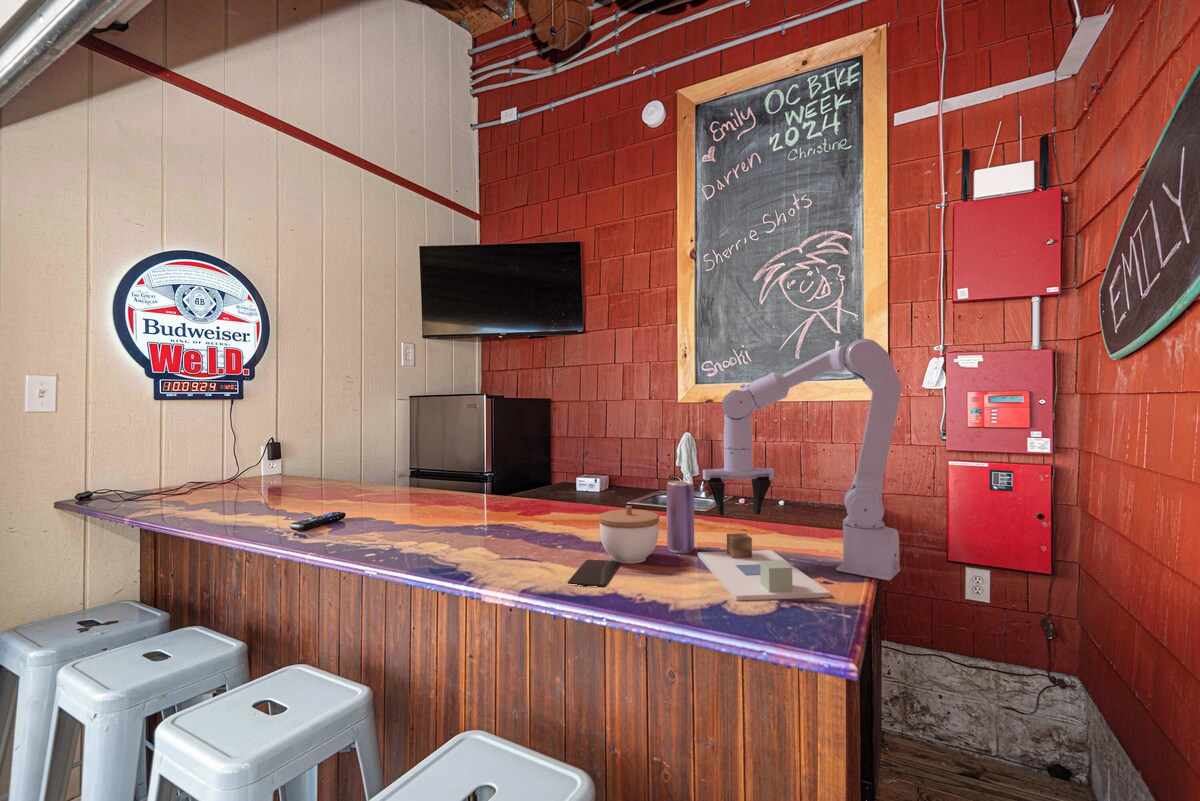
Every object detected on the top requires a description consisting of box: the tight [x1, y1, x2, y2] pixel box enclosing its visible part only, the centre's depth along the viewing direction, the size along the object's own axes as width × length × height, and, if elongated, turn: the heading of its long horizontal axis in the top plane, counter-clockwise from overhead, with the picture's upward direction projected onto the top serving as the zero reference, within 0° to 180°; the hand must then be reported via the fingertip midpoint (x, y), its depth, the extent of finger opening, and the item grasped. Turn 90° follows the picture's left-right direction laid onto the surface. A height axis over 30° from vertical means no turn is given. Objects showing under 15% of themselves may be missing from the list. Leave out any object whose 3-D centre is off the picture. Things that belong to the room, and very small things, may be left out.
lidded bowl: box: [598, 505, 660, 565], centre depth 115 cm, size 13×13×11 cm
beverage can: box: [666, 480, 695, 555], centre depth 121 cm, size 6×6×15 cm
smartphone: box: [566, 559, 621, 588], centre depth 105 cm, size 7×1×15 cm
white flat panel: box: [697, 549, 831, 601], centre depth 104 cm, size 16×26×1 cm, turn 4°
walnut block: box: [726, 532, 753, 558], centre depth 114 cm, size 4×4×4 cm
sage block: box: [760, 561, 792, 592], centre depth 94 cm, size 4×4×4 cm
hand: (738, 513), depth 114 cm, fingers open, 7 cm apart
